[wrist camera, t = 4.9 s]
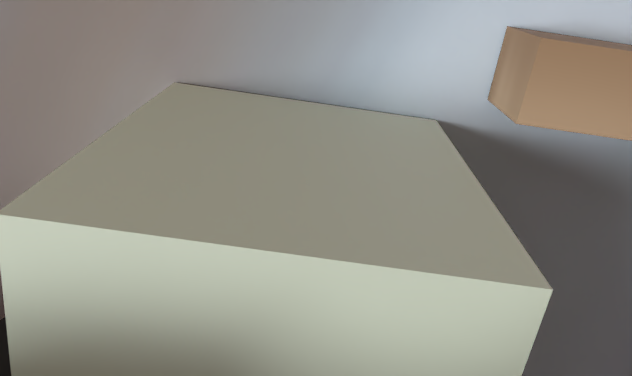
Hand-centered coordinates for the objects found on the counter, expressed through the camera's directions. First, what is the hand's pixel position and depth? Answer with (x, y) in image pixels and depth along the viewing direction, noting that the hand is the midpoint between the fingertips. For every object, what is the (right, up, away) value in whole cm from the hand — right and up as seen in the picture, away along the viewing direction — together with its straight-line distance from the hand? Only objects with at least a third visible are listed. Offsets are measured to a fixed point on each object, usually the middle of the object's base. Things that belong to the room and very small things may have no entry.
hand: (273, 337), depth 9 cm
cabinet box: (0, +1, +1) cm, 2 cm away
